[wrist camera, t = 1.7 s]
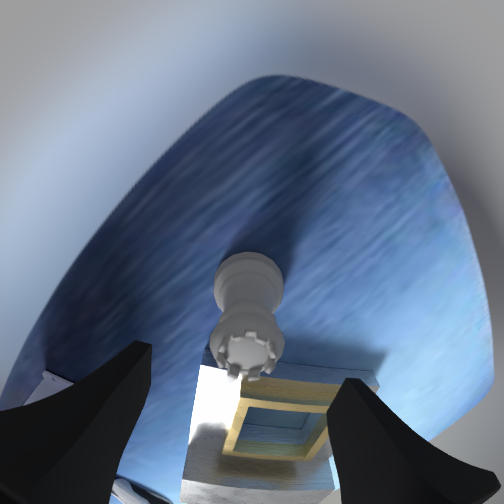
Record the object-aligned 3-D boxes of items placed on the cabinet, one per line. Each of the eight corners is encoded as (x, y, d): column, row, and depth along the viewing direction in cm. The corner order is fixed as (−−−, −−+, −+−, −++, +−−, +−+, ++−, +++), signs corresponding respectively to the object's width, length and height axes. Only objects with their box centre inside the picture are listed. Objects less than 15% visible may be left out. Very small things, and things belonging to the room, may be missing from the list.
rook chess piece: (245, 234, 18) (241, 289, 10) (297, 279, 19) (323, 354, 11) (200, 284, 19) (171, 359, 11) (251, 323, 20) (250, 408, 12)
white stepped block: (186, 460, 25) (179, 501, 20) (204, 348, 20) (191, 406, 14) (303, 472, 26) (308, 511, 21) (372, 370, 21) (397, 420, 15)
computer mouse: (158, 507, 33) (155, 523, 29) (68, 459, 29) (60, 476, 25) (187, 500, 31) (185, 519, 27) (83, 447, 27) (73, 467, 23)
